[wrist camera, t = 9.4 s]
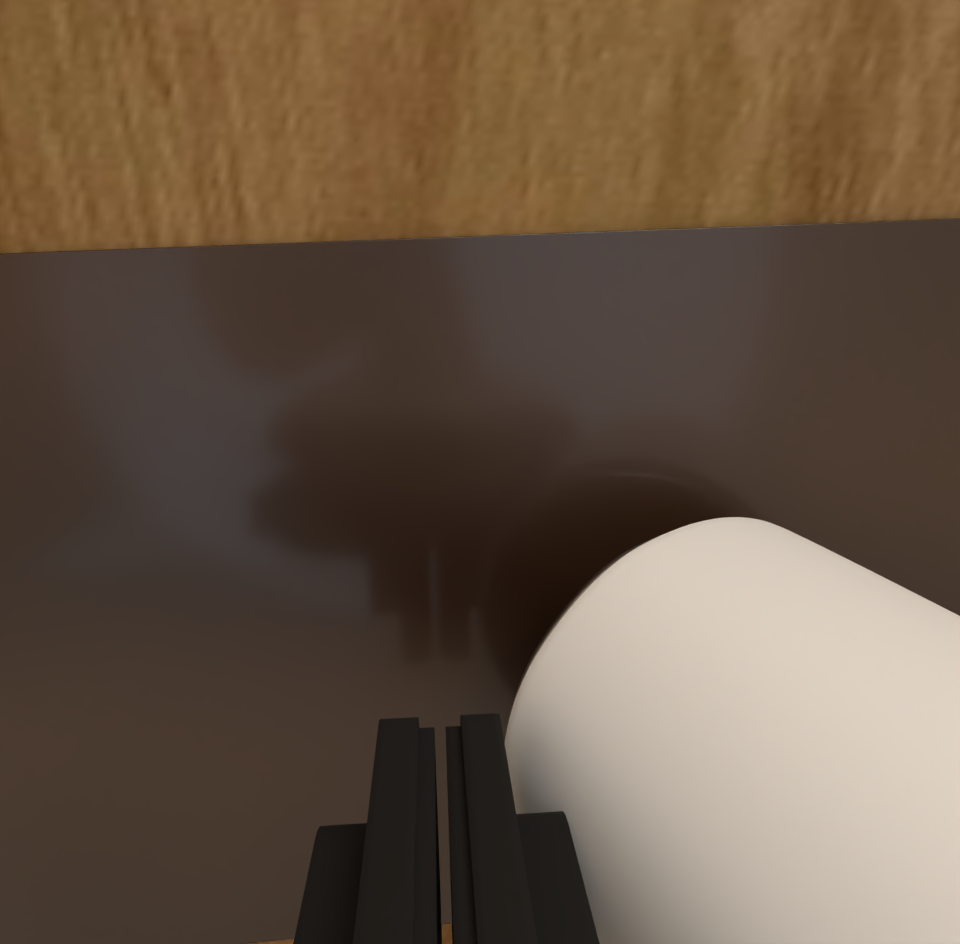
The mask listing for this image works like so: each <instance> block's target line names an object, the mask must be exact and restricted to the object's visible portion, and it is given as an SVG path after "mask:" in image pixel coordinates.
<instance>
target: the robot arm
mask: <svg viewBox="0 0 960 944" xmlns="http://www.w3.org/2000/svg"><path fill="white" fill-rule="evenodd" d="M446 757H447V788H448V819H449V849H450V880H451V910H452V937H453V944H600V943H599V939H598V936H597V932H596V928H595V924H594V920H593V916H592V912H591V909H590V905H589V901H588V897H587V893H586V889H585V886H584V882H583V878H582V874H581V870H580V866H579V862H578V859H577V855H576V851H575V847H574V843H573V839H572V836H571V832H570V828H569V824H568V821H567V818H566V815H565V813H564V812H563V811H557V812H541V813H525V814H516V809H515V803H514V797H513V791H512V785H511V779H510V773H509V767H508V761H507V755H506V749H505V743H504V737H503V731H502V725H501V719H500V714H499V713H488V714H469V715H460V726H449V727H446ZM293 944H442V932H441V890H440V863H439V836H438V809H437V781H436V754H435V729H434V727H428V728H420V727H419V717H409V718H391V719H380V720H379V724H378V732H377V741H376V749H375V758H374V766H373V775H372V783H371V792H370V800H369V809H368V818H367V823H360V824H344V825H328V826H320V827H319V828H318V830H317V834H316V837H315V841H314V846H313V851H312V856H311V861H310V865H309V870H308V875H307V880H306V885H305V890H304V894H303V899H302V904H301V909H300V914H299V919H298V923H297V928H296V933H295V938H294V943H293Z"/></svg>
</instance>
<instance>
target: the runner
mask: <svg viewBox="0 0 960 944" xmlns="http://www.w3.org/2000/svg"><path fill="white" fill-rule="evenodd" d="M725 517H744V518H753V519H758V520H763V521H766V522H769V523H772V524H775V525H777V526H780V527H782V528H785V529H787V530H789V531H791V532H793V533H795V534H797V535H800V536H802V537H804V538H806V539H808V540H810V541H812V542H814V543H816V544H818V545H820V546H822V547H824V548H826V549H828V550H830V551H832V552H834V553H836V554H838V555H840V556H842V557H844V558H846V559H848V560H850V561H852V562H854V563H856V564H858V565H860V566H862V567H864V568H866V569H868V570H870V571H872V572H874V573H876V574H878V575H880V576H882V577H884V578H886V579H888V580H890V581H892V582H894V583H896V584H898V585H900V586H902V587H904V588H906V589H908V590H910V591H912V592H914V593H916V594H918V595H919V596H921V597H923V598H925V599H927V600H929V601H931V602H933V603H935V604H937V605H939V606H941V607H943V608H945V609H947V610H949V611H951V612H953V613H955V614H957V615H959V616H960V218H959V219H932V220H905V221H878V222H850V223H823V224H796V225H769V226H741V227H714V228H687V229H659V230H632V231H605V232H578V233H550V234H523V235H496V236H468V237H441V238H414V239H387V240H359V241H332V242H305V243H278V244H250V245H223V246H196V247H168V248H141V249H114V250H87V251H59V252H32V253H5V254H0V944H244V943H254V942H265V941H275V940H285V939H294V938H295V933H296V928H297V923H298V919H299V914H300V909H301V904H302V899H303V894H304V890H305V885H306V880H307V875H308V870H309V865H310V861H311V856H312V851H313V846H314V841H315V837H316V834H317V830H318V828H319V827H320V826H328V825H344V824H360V823H367V818H368V809H369V800H370V792H371V783H372V775H373V766H374V758H375V749H376V741H377V732H378V724H379V720H380V719H391V718H409V717H419V727H420V728H428V727H434V729H435V754H436V781H437V809H438V836H439V863H440V890H441V924H450V923H452V910H451V880H450V849H449V819H448V788H447V757H446V727H449V726H460V715H469V714H488V713H499V714H500V719H501V725H502V731H503V737H504V743H505V737H506V731H507V727H508V722H509V718H510V714H511V711H512V707H513V703H514V699H515V695H516V692H517V689H518V686H519V683H520V681H521V678H522V675H523V673H524V671H525V668H526V666H527V664H528V662H529V660H530V658H531V656H532V654H533V653H534V651H535V649H536V647H537V646H538V644H539V643H540V641H541V639H542V638H543V636H544V635H545V633H546V632H547V630H548V629H549V628H550V626H551V625H552V623H553V622H554V621H555V619H556V618H557V617H558V615H559V614H560V613H561V611H562V610H563V609H564V608H565V606H566V605H567V604H568V603H569V602H570V600H571V599H572V598H573V597H574V596H575V595H576V593H577V592H578V591H579V590H580V589H581V588H582V587H583V586H584V585H585V584H586V583H587V582H588V581H589V580H590V579H591V578H592V577H593V576H594V575H595V574H596V573H597V572H599V571H600V570H601V569H602V568H603V567H604V566H606V565H607V564H608V563H609V562H611V561H612V560H613V559H615V558H616V557H618V556H619V555H621V554H622V553H624V552H626V551H627V550H629V549H631V548H633V547H635V546H637V545H639V544H641V543H643V542H645V541H648V540H650V539H652V538H655V537H657V536H660V535H663V534H665V533H668V532H670V531H673V530H675V529H678V528H681V527H684V526H687V525H690V524H693V523H697V522H700V521H705V520H710V519H716V518H725Z"/></svg>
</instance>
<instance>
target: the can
mask: <svg viewBox="0 0 960 944" xmlns="http://www.w3.org/2000/svg"><path fill="white" fill-rule="evenodd" d="M505 749H506V755H507V761H508V767H509V773H510V779H511V785H512V791H513V797H514V803H515V809H516V814H525V813H541V812H557V811H563V812H564V813H565V815H566V818H567V821H568V824H569V828H570V832H571V836H572V839H573V843H574V847H575V851H576V855H577V859H578V862H579V866H580V870H581V874H582V878H583V882H584V886H585V889H586V893H587V897H588V901H589V905H590V909H591V912H592V916H593V920H594V924H595V928H596V932H597V936H598V939H599V943H600V944H960V616H959V615H957V614H955V613H953V612H951V611H949V610H947V609H945V608H943V607H941V606H939V605H937V604H935V603H933V602H931V601H929V600H927V599H925V598H923V597H921V596H919V595H918V594H916V593H914V592H912V591H910V590H908V589H906V588H904V587H902V586H900V585H898V584H896V583H894V582H892V581H890V580H888V579H886V578H884V577H882V576H880V575H878V574H876V573H874V572H872V571H870V570H868V569H866V568H864V567H862V566H860V565H858V564H856V563H854V562H852V561H850V560H848V559H846V558H844V557H842V556H840V555H838V554H836V553H834V552H832V551H830V550H828V549H826V548H824V547H822V546H820V545H818V544H816V543H814V542H812V541H810V540H808V539H806V538H804V537H802V536H800V535H797V534H795V533H793V532H791V531H789V530H787V529H785V528H782V527H780V526H777V525H775V524H772V523H769V522H766V521H763V520H758V519H753V518H744V517H725V518H716V519H710V520H705V521H700V522H697V523H693V524H690V525H687V526H684V527H681V528H678V529H675V530H673V531H670V532H668V533H665V534H663V535H660V536H657V537H655V538H652V539H650V540H648V541H645V542H643V543H641V544H639V545H637V546H635V547H633V548H631V549H629V550H627V551H626V552H624V553H622V554H621V555H619V556H618V557H616V558H615V559H613V560H612V561H611V562H609V563H608V564H607V565H606V566H604V567H603V568H602V569H601V570H600V571H599V572H597V573H596V574H595V575H594V576H593V577H592V578H591V579H590V580H589V581H588V582H587V583H586V584H585V585H584V586H583V587H582V588H581V589H580V590H579V591H578V592H577V593H576V595H575V596H574V597H573V598H572V599H571V600H570V602H569V603H568V604H567V605H566V606H565V608H564V609H563V610H562V611H561V613H560V614H559V615H558V617H557V618H556V619H555V621H554V622H553V623H552V625H551V626H550V628H549V629H548V630H547V632H546V633H545V635H544V636H543V638H542V639H541V641H540V643H539V644H538V646H537V647H536V649H535V651H534V653H533V654H532V656H531V658H530V660H529V662H528V664H527V666H526V668H525V671H524V673H523V675H522V678H521V681H520V683H519V686H518V689H517V692H516V695H515V699H514V703H513V707H512V711H511V714H510V718H509V722H508V727H507V731H506V737H505Z"/></svg>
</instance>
